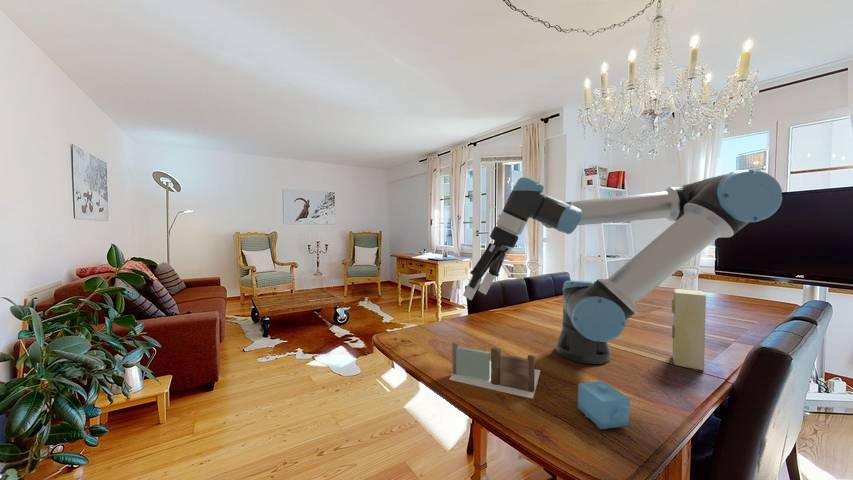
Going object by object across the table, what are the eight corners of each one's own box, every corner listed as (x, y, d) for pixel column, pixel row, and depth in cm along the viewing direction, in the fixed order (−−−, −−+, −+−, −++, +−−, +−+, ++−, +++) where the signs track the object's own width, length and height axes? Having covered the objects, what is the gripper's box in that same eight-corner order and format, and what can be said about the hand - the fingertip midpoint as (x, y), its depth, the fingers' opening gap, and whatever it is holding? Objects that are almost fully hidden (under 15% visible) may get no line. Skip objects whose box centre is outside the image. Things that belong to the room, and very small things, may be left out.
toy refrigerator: (669, 355, 97) (671, 287, 96) (700, 361, 93) (702, 290, 92) (670, 364, 90) (672, 292, 89) (704, 371, 86) (706, 295, 85)
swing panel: (489, 378, 81) (490, 348, 81) (488, 381, 80) (488, 350, 80) (453, 370, 86) (453, 341, 85) (451, 372, 84) (451, 343, 84)
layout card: (540, 371, 86) (540, 369, 86) (533, 398, 73) (533, 396, 73) (467, 357, 96) (467, 356, 96) (449, 379, 82) (449, 377, 82)
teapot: (643, 441, 59) (644, 402, 58) (614, 446, 58) (615, 406, 57) (597, 405, 70) (598, 372, 70) (573, 408, 69) (573, 375, 69)
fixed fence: (535, 388, 77) (535, 354, 76) (533, 393, 75) (534, 358, 74) (492, 379, 81) (492, 347, 81) (489, 383, 79) (489, 350, 79)
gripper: (505, 228, 102) (477, 285, 106) (483, 220, 80) (448, 292, 84) (527, 238, 99) (497, 296, 103) (509, 233, 77) (471, 307, 81)
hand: (475, 294), depth 93 cm, fingers open, 13 cm apart
